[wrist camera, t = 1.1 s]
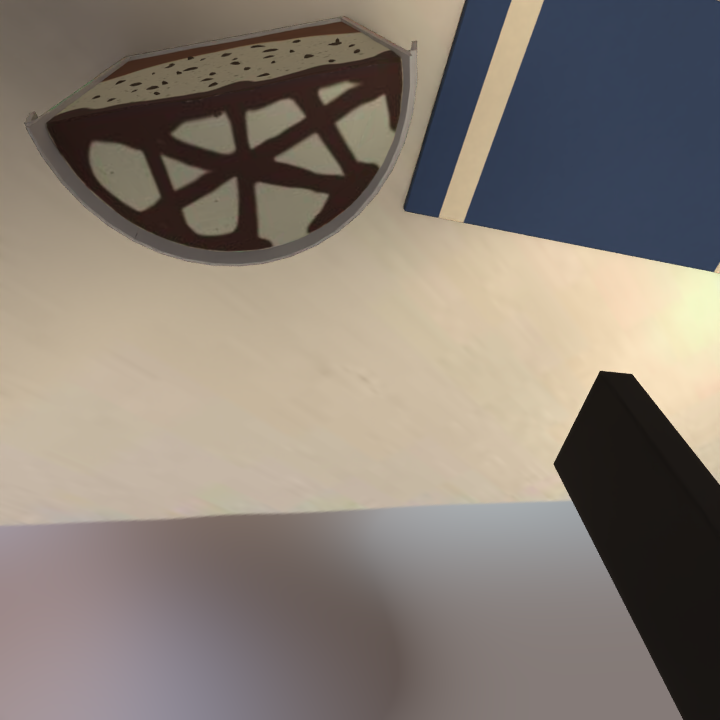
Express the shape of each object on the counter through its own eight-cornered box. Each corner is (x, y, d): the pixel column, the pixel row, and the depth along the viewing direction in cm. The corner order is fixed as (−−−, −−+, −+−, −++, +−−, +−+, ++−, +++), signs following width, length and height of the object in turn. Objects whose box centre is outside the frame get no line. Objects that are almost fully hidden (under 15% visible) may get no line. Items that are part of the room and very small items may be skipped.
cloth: (403, 208, 31) (404, 211, 30) (487, -74, 24) (490, -74, 24) (753, 277, 36) (758, 281, 36) (902, 61, 29) (909, 63, 29)
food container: (142, 202, 29) (94, 311, 21) (89, 63, 25) (6, 131, 17) (395, 154, 29) (444, 245, 21) (379, 9, 25) (430, 52, 17)
